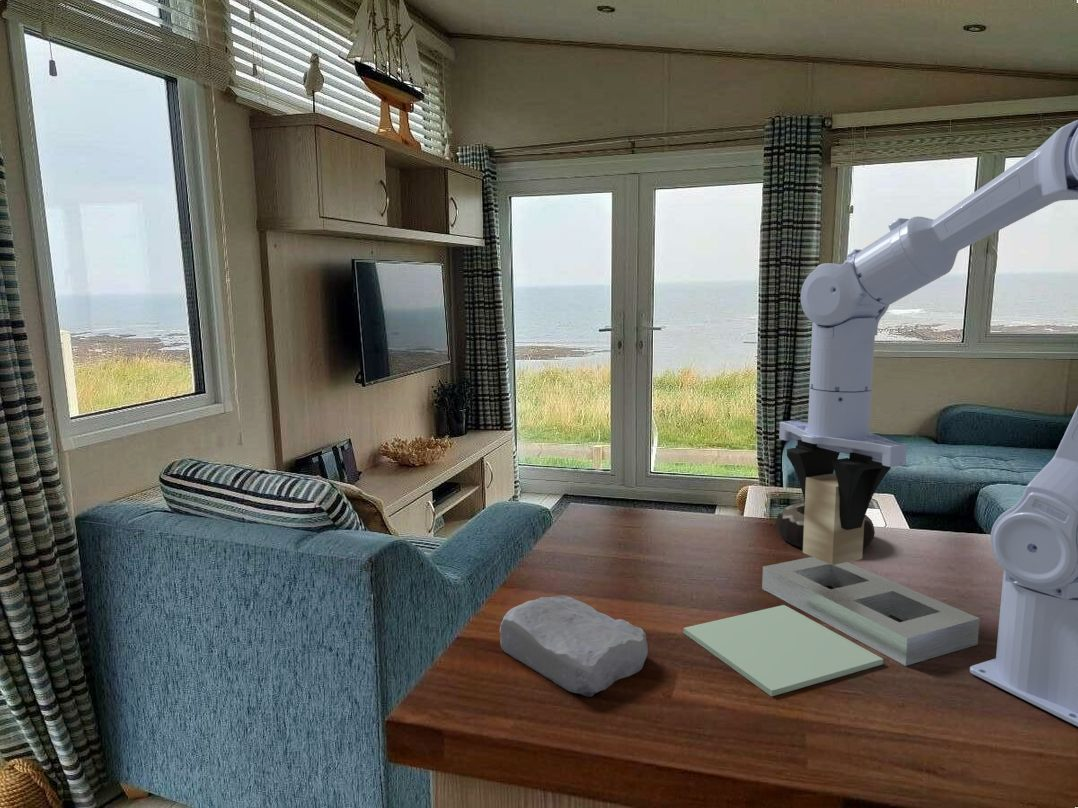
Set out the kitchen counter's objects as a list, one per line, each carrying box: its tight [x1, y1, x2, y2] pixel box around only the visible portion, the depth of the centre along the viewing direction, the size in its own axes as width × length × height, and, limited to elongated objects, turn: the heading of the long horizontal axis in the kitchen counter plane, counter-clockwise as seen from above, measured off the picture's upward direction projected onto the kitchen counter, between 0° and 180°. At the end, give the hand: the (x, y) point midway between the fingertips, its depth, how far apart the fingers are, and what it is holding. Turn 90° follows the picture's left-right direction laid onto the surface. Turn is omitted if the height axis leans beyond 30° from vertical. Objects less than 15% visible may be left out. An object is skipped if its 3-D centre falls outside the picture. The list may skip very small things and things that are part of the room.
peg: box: [802, 472, 865, 565], centre depth 74 cm, size 4×4×8 cm
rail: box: [761, 556, 981, 667], centre depth 72 cm, size 18×9×2 cm, turn 24°
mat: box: [683, 604, 884, 697], centre depth 66 cm, size 12×12×1 cm
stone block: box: [499, 595, 649, 698], centre depth 65 cm, size 12×5×10 cm
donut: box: [775, 501, 876, 549], centre depth 93 cm, size 12×12×4 cm
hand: (833, 521), depth 74 cm, fingers closed on peg, 4 cm apart
